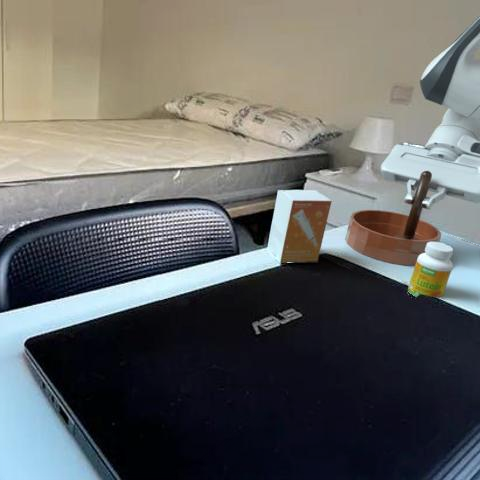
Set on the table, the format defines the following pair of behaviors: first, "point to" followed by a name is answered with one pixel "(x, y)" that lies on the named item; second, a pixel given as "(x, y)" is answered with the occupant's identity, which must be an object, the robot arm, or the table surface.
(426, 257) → the supplement bottle
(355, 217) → the bowl
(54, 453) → the table surface
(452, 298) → the table surface
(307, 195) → the small box
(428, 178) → the dark brown wooden dowel
